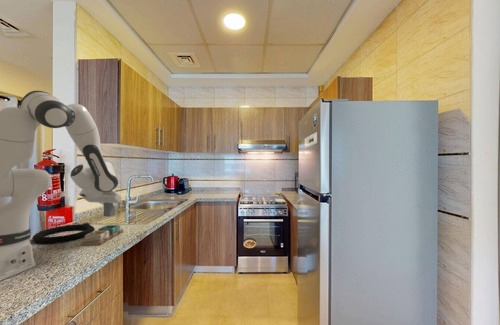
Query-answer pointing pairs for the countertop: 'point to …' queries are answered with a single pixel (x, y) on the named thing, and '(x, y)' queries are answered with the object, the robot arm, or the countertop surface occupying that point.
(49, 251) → the countertop surface
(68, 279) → the countertop surface
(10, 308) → the countertop surface
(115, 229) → the brown divided tray
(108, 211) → the knob
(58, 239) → the cable lock
